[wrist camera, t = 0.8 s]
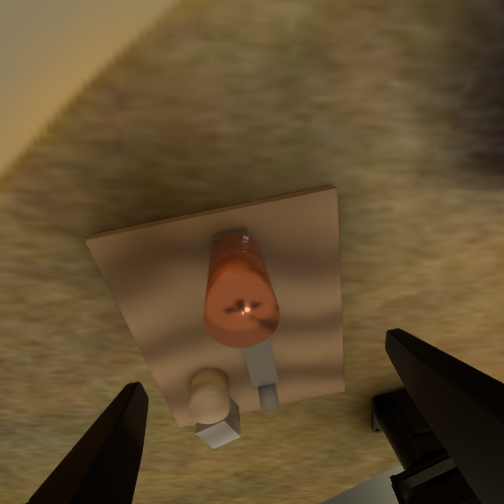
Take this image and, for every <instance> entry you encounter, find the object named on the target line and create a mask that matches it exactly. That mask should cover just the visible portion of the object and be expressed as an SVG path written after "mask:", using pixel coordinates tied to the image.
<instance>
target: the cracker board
mask: <svg viewBox="0 0 504 504" xmlns="http://www.w3.org/2000/svg"><path fill="white" fill-rule="evenodd" d="M242 228H247V230H248V234H249V237H250V238H252V239H253V240H254V241H255V242H256V243H257V244H258V246H259V248H260V250H261V253H262V257H263V260H264V263H265V266H266V269H267V272H268V275H269V278H270V281H271V285H272V288H273V291H274V294H275V297H276V300H277V303H278V306H279V310H280V320H279V324H278V326H277V328H276V330H275V331H274V333H273V334H272V335H271V336H270V337H269V338H270V343H271V348H272V353H273V358H274V363H275V368H276V373H277V377H278V383H273V384H269V385H264V386H260V387H255V388H253V386H252V382H251V379H250V375H249V371H248V367H247V364H246V360H245V356H244V353H243V349H242V348H233V347H228V346H224V345H222V344H220V343H218V342H216V341H215V340H213V339H212V338H211V337H210V336H209V335H208V333H207V332H206V330H205V327H204V323H203V315H204V305H205V296H206V287H207V277H208V268H209V258H210V252H211V249H212V247H213V245H214V241H213V239H214V234H218V233H223V232H228V231H233V230H237V229H242ZM85 242H86V244H87V246H88V248H89V250H90V252H91V254H92V256H93V258H94V260H95V262H96V264H97V266H98V268H99V270H100V272H101V274H102V276H103V278H104V279H105V281H106V283H107V285H108V287H109V289H110V291H111V293H112V295H113V297H114V299H115V301H116V303H117V305H118V307H119V309H120V311H121V313H122V315H123V317H124V319H125V321H126V323H127V325H128V327H129V329H130V331H131V333H132V335H133V337H134V338H135V340H136V342H137V344H138V346H139V348H140V350H141V352H142V354H143V356H144V358H145V360H146V362H147V364H148V366H149V368H150V370H151V372H152V374H153V376H154V378H155V380H156V382H157V384H158V386H159V388H160V390H161V392H162V394H163V396H164V398H165V399H166V401H167V403H168V405H169V407H170V409H171V411H172V413H173V415H174V417H175V419H176V421H177V423H178V425H179V427H180V428H181V427H185V426H190V425H194V424H196V435H198V436H199V437H200V438H201V439H202V440H203V441H205V442H206V443H207V444H208V445H209V446H210V447H212V448H213V449H215V448H217V447H219V446H221V445H224V444H226V443H228V442H230V441H233V440H235V439H237V438H240V437H241V432H240V414H244V413H249V412H253V411H258V410H262V409H263V410H265V411H271V410H274V409H276V408H277V407H278V406H280V405H285V404H289V403H294V402H299V401H303V400H308V399H312V398H317V397H321V396H326V395H330V394H335V393H339V392H344V391H345V387H344V360H343V332H342V304H341V276H340V248H339V221H338V193H337V188H336V187H334V186H332V185H328V186H323V187H318V188H314V189H309V190H304V191H299V192H294V193H289V194H285V195H280V196H275V197H270V198H265V199H260V200H256V201H251V202H246V203H241V204H236V205H231V206H227V207H222V208H217V209H212V210H207V211H202V212H197V213H193V214H188V215H183V216H178V217H173V218H168V219H164V220H159V221H154V222H149V223H144V224H139V225H135V226H130V227H125V228H120V229H115V230H110V231H106V232H101V233H96V234H92V235H91V236H90V237H88V238H87V239H86V240H85ZM205 368H217V369H220V370H222V371H224V372H225V373H226V374H227V376H228V380H229V413H228V415H227V416H226V417H225V418H224V419H223V420H221V421H219V422H217V423H213V424H201V423H198V422H195V421H193V420H192V419H191V418H190V417H189V415H188V407H189V400H190V392H191V384H192V378H193V376H194V375H195V374H196V373H197V372H198V371H200V370H202V369H205Z"/></svg>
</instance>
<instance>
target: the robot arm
mask: <svg viewBox="0 0 504 504" xmlns="http://www.w3.org/2000/svg"><path fill="white" fill-rule="evenodd" d="M385 349H386V352H387V354H388V356H389V358H390V360H391V362H392V363H393V365H394V367H395V369H396V371H397V373H398V375H399V377H400V378H401V380H402V382H403V384H404V386H405V388H406V389H407V390H405V391H400V392H396V393H391V394H387V395H382V396H378V397H375V398H374V399H373V406H372V430H373V432H375V433H376V432H381V431H384V433H385V435H386V437H387V439H388V441H389V442H390V444H391V446H392V448H393V450H394V452H395V454H396V455H397V457H398V459H399V461H400V463H401V465H402V466H403V468H404V470H405V471H403V472H401V473H399V474H397V475H392V476H390V479H391V482H392V488H393V490H394V492H395V495H396V497H397V500H398V502H399V504H504V383H502V382H500V381H498V380H496V379H494V378H492V377H490V376H489V375H487V374H485V373H483V372H481V371H479V370H477V369H475V368H473V367H472V366H470V365H468V364H466V363H464V362H462V361H460V360H458V359H456V358H455V357H453V356H451V355H449V354H447V353H445V352H443V351H441V350H439V349H438V348H436V347H434V346H432V345H430V344H428V343H426V342H424V341H422V340H421V339H419V338H417V337H415V336H413V335H411V334H409V333H407V332H405V331H404V330H402V329H399V328H396V329H391V330H388V331H387V333H386V343H385ZM148 402H149V401H148V396H147V394H146V392H145V390H144V388H143V386H142V384H141V383H140V382H133V383H129V384H127V385H126V386H125V387H124V388H123V389H122V391H121V392H120V393H119V394H118V395H117V396H116V398H115V399H114V400H113V401H112V402H111V404H110V405H109V406H108V407H107V408H106V409H105V411H104V412H103V413H102V414H101V415H100V416H99V418H98V419H97V420H96V421H95V422H94V424H93V425H92V426H91V427H90V428H89V429H88V431H87V432H86V433H85V434H84V435H83V437H82V438H81V439H80V440H79V441H78V442H77V444H76V445H75V446H74V447H73V448H72V450H71V451H70V452H69V453H68V454H67V455H66V457H65V458H64V459H63V460H62V461H61V462H60V464H59V465H58V466H57V467H56V468H55V470H54V471H53V472H52V473H51V474H50V475H49V477H48V478H47V479H46V480H45V481H44V483H43V484H42V485H41V486H40V487H39V488H38V490H37V491H36V492H35V493H34V494H33V495H32V497H31V498H30V499H29V502H27V503H26V504H132V500H133V495H134V490H135V486H136V481H137V476H138V472H139V467H140V462H141V457H142V452H143V446H144V437H145V429H146V420H147V412H148Z"/></svg>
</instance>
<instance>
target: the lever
mask: <svg viewBox="0 0 504 504" xmlns="http://www.w3.org/2000/svg"><path fill="white" fill-rule="evenodd" d="M213 241H214V245H213V247H212V249H211V252H210V258H209V268H208V277H207V287H206V296H205V305H204V315H203V323H204V327H205V330H206V332H207V333H208V335H209V336H210V337H211V338H212V339H213V340H215V341H216V342H218V343H220V344H222V345H224V346H228V347H233V348H242V349H243V353H244V356H245V360H246V364H247V367H248V371H249V375H250V379H251V382H252V386H253V388H255V387H260V386H264V385H269V384H273V383H278V377H277V373H276V368H275V363H274V358H273V353H272V348H271V343H270V338H269V337H270V336H271V335H272V334H273V333H274V331H275V330H276V328H277V326H278V324H279V320H280V310H279V306H278V303H277V300H276V297H275V294H274V291H273V288H272V285H271V281H270V278H269V275H268V272H267V269H266V266H265V263H264V260H263V257H262V253H261V250H260V248H259V246H258V244H257V243H256V242H255V241H254V240H253V239H252V238H250V237H249V234H248V230H247V228H242V229H237V230H233V231H228V232H223V233H218V234H214V239H213Z"/></svg>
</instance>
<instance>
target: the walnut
mask: <svg viewBox="0 0 504 504" xmlns="http://www.w3.org/2000/svg"><path fill="white" fill-rule="evenodd" d="M228 413H229V380H228V376H227V374H226V373H225V372H224V371H222V370H220V369H217V368H205V369H202V370H200V371H198V372H197V373H196V374H195V375H194V376H193V378H192V384H191V392H190V400H189V407H188V415H189V417H190V418H191V419H192V420H193V421H195V422H198V423H201V424H213V423H217V422H219V421H221V420H223V419H224V418H225V417H226V416H227V415H228Z"/></svg>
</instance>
